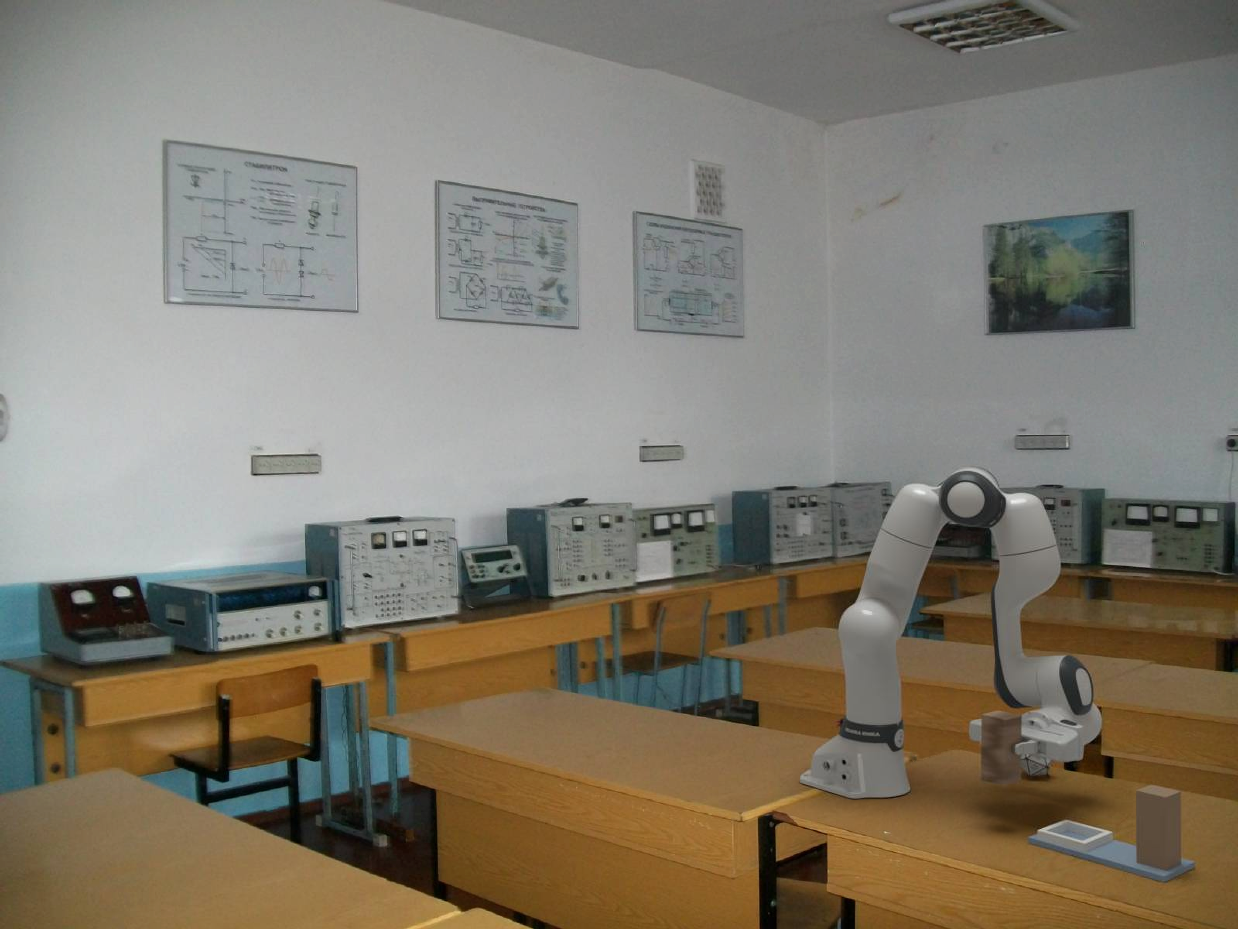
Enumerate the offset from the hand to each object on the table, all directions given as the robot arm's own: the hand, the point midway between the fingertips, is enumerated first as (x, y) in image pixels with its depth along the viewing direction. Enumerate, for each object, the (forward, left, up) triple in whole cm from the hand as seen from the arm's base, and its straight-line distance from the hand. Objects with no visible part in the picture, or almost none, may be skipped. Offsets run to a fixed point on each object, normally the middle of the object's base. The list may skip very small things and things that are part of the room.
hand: (998, 745), depth 216 cm
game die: (-9, +37, -16) cm, 41 cm away
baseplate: (+20, 0, -16) cm, 25 cm away
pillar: (0, +1, -7) cm, 7 cm away
